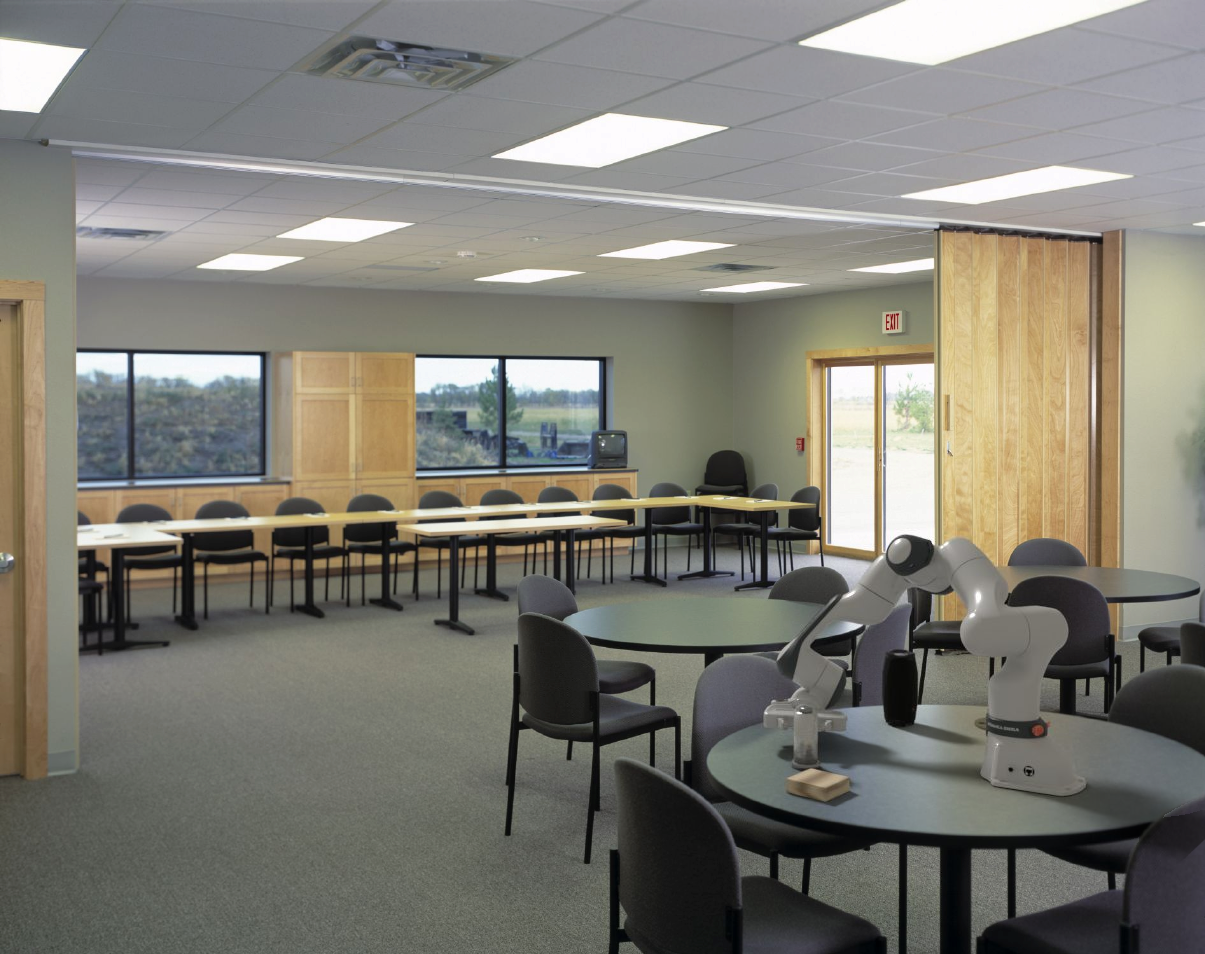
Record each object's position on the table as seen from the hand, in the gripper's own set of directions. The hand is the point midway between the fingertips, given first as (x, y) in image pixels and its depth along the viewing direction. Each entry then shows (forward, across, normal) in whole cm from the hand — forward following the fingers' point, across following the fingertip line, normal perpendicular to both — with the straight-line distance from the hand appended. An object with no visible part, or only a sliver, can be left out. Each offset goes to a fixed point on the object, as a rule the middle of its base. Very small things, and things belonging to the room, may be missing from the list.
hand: (804, 727), depth 278 cm
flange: (-40, -52, -8) cm, 66 cm away
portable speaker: (-38, -24, -7) cm, 45 cm away
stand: (+25, -4, -8) cm, 26 cm away
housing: (+6, -1, -8) cm, 10 cm away
